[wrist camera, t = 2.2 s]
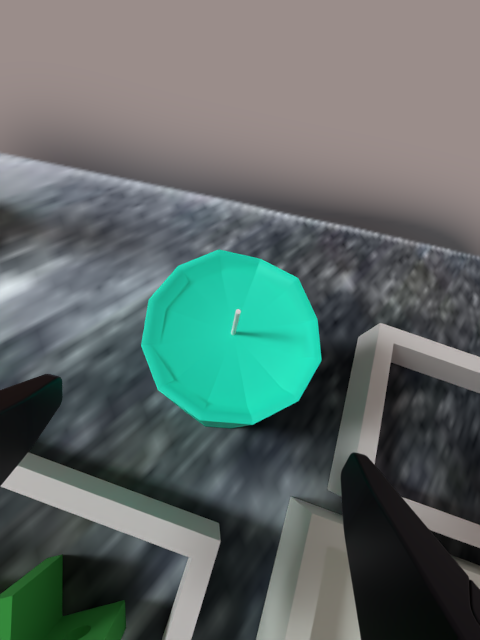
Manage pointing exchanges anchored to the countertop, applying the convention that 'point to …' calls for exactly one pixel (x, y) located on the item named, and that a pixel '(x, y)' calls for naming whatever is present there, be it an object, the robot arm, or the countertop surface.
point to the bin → (315, 579)
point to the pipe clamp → (54, 610)
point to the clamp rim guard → (130, 526)
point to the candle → (231, 339)
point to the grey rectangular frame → (368, 406)
